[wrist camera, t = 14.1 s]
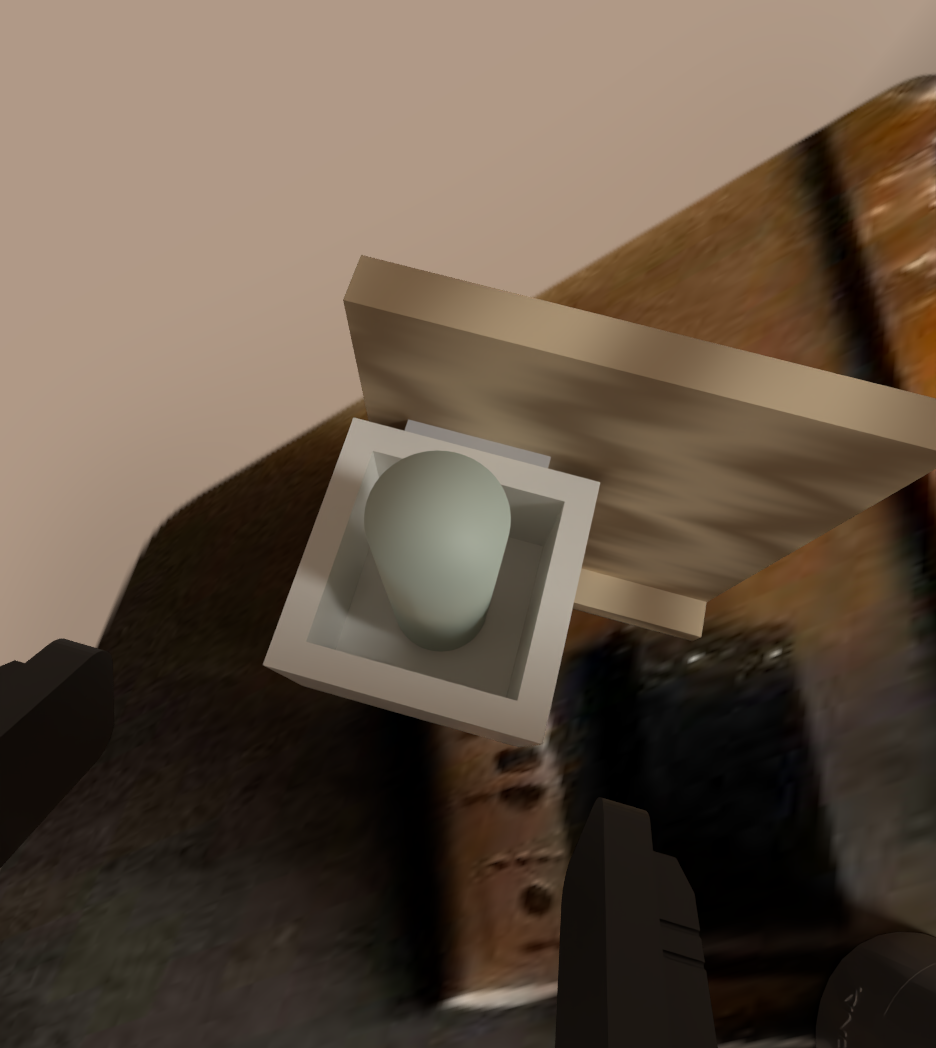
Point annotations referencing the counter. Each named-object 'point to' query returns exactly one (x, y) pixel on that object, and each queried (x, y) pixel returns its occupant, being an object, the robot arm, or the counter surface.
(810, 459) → the oak board
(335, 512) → the grey open box
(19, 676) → the robot arm
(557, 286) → the counter surface
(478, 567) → the pale green rounded cylinder
